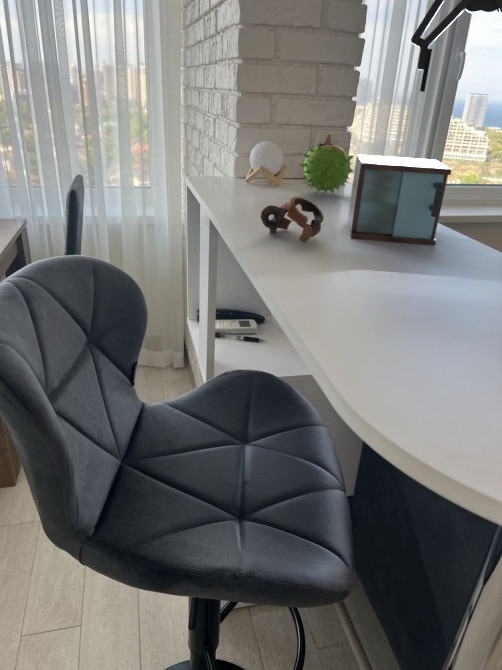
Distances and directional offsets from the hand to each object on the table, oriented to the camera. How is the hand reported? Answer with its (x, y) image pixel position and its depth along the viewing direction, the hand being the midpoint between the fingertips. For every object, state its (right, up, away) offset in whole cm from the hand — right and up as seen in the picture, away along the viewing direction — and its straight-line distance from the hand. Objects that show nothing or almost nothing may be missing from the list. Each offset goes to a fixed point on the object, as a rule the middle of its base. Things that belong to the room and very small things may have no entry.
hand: (462, 94), depth 88 cm
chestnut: (-17, -3, +51) cm, 54 cm away
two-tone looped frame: (-30, -23, +9) cm, 39 cm away
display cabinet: (-9, -21, +17) cm, 28 cm away
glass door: (-6, -24, +8) cm, 26 cm away
